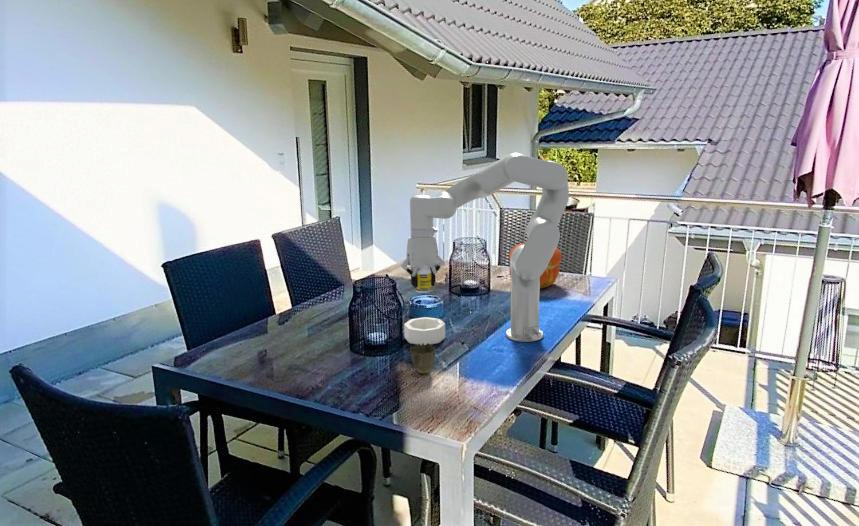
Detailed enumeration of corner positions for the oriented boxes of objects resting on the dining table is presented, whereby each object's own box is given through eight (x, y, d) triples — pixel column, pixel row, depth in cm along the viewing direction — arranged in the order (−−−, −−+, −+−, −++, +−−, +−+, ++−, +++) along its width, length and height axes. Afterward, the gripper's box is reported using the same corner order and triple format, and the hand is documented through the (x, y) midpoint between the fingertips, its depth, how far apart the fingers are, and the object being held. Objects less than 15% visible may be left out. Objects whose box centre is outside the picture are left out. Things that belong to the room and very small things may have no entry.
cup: (407, 370, 177) (406, 345, 175) (429, 365, 180) (429, 341, 178) (416, 379, 171) (415, 354, 169) (439, 375, 173) (439, 349, 172)
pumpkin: (502, 290, 256) (502, 245, 252) (515, 277, 277) (515, 235, 272) (555, 295, 248) (557, 248, 243) (564, 281, 268) (566, 237, 263)
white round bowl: (449, 341, 199) (449, 327, 198) (412, 346, 195) (412, 332, 194) (436, 328, 211) (435, 315, 210) (401, 334, 207) (400, 320, 206)
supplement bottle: (419, 294, 196) (418, 265, 193) (413, 290, 201) (412, 262, 198) (434, 292, 198) (433, 263, 196) (427, 288, 203) (427, 260, 200)
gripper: (442, 229, 201) (443, 280, 205) (393, 233, 195) (395, 285, 200) (450, 232, 194) (451, 285, 198) (400, 237, 188) (402, 291, 193)
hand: (423, 285), depth 199 cm, fingers closed on supplement bottle, 5 cm apart
